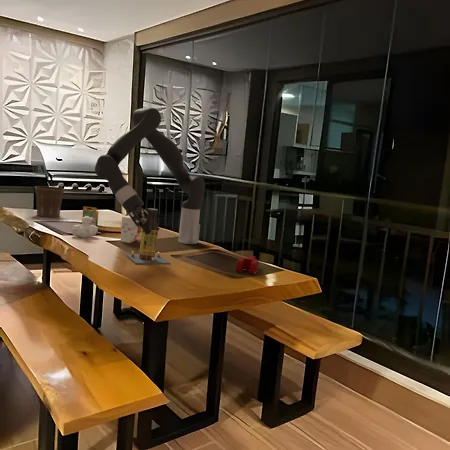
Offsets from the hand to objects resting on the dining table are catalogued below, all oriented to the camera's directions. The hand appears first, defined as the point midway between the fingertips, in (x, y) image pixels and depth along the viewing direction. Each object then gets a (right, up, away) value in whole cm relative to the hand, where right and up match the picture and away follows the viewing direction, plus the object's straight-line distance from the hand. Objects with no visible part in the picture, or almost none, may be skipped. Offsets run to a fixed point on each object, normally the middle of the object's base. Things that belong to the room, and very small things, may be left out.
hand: (153, 232), depth 182 cm
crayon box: (-41, 0, +55) cm, 69 cm away
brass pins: (-2, -11, 0) cm, 11 cm away
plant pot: (-73, +8, +83) cm, 111 cm away
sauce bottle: (-3, -11, +2) cm, 11 cm away
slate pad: (-3, -11, +2) cm, 12 cm away
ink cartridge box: (-17, -5, +36) cm, 41 cm away
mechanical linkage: (+37, -16, +4) cm, 41 cm away
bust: (-37, -3, +33) cm, 50 cm away
